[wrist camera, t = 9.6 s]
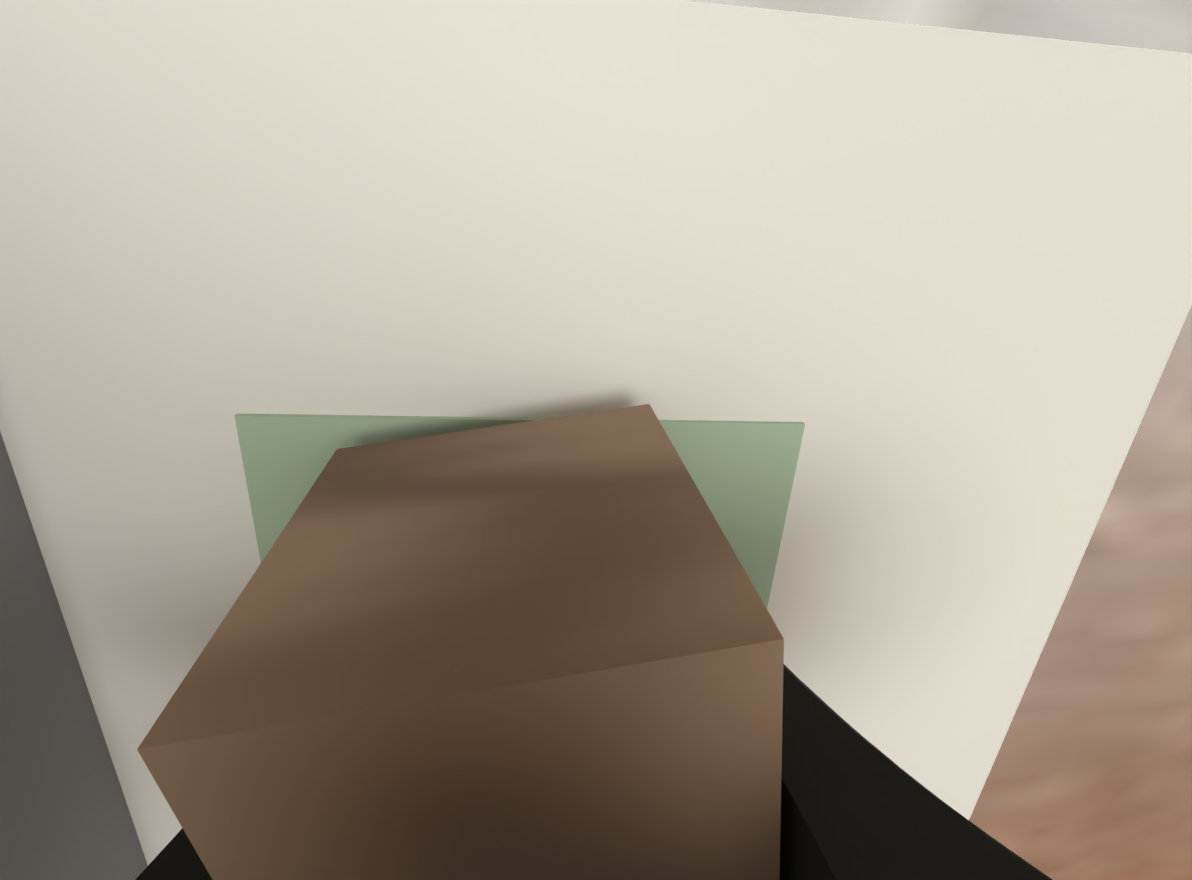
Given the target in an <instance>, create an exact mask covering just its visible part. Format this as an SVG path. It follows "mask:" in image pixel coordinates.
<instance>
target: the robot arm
mask: <svg viewBox="0 0 1192 880" xmlns="http://www.w3.org/2000/svg"><path fill="white" fill-rule="evenodd" d="M135 880H212V878H211V876H210V875H209V873H208V871H207V869H206V868H205V866H204V864H203V862H202V861H201V859H200V857H199V856H198V854H197V852H196V850H195V849H194V847H193V845H192V844H191V842H190V840H189V838H188V837H187V835H186V833H185V831H184V830H183V828H182V829H181V830H180V831H179V832H178V833H177V834H176V836H175V837H174V838H173V839H172V840H171V841H170V842H169V843H168V844H167V845H166V847H165V848H164V849H163V850H162V851H161V852H160V853H159V854H158V855H157V856H156V858H155V859H154V860H153V861H152V862H151V863H150V864H149V865H148V866H147V867H146V869H145V870H144V871H143V872H142V873H141V874H140V875H139V876H138V877H137V878H136V879H135ZM780 880H1052V879H1051V878H1049V877H1048V876H1046V875H1045V874H1043V873H1042V872H1041V871H1039V870H1038V869H1036V868H1035V867H1033V866H1032V865H1031V864H1029V863H1028V862H1026V861H1025V860H1024V859H1022V858H1021V857H1019V856H1018V855H1016V854H1015V853H1014V852H1012V851H1011V850H1009V849H1008V848H1006V847H1005V846H1004V845H1002V844H1001V843H999V842H998V841H996V840H995V839H994V838H992V837H991V836H989V835H988V834H987V833H985V832H984V831H982V830H981V829H980V828H978V827H977V826H976V825H974V824H973V823H972V822H970V821H969V820H968V819H966V818H965V817H964V816H962V815H961V814H960V813H958V812H957V811H955V810H954V809H953V808H951V807H950V806H949V805H947V804H946V803H945V802H943V801H942V800H941V799H939V798H938V797H937V796H936V795H934V794H933V793H932V792H930V791H929V790H928V789H927V788H925V787H924V786H923V785H921V784H920V783H919V782H918V781H916V780H915V779H914V778H913V777H911V776H910V775H909V774H908V773H906V772H905V771H904V770H903V769H901V768H900V767H899V766H898V765H897V764H895V763H894V762H893V761H892V760H891V759H889V758H888V757H887V756H886V755H885V754H883V753H882V752H881V751H880V750H879V749H877V748H876V747H875V746H874V745H873V744H871V743H870V742H869V741H868V740H867V739H865V738H864V737H863V736H862V735H861V734H860V733H858V732H857V731H856V730H855V729H854V728H853V727H852V726H850V725H849V724H848V723H847V722H846V721H845V720H844V719H842V718H841V717H840V716H839V715H838V714H837V713H836V712H835V711H834V710H832V709H831V708H830V707H829V706H828V705H827V704H826V703H825V702H824V701H823V700H822V699H821V698H819V697H818V696H817V695H816V694H815V693H814V692H813V691H812V690H811V689H810V688H809V687H808V686H806V685H805V684H804V683H803V682H802V681H801V680H800V679H799V678H798V677H797V676H796V675H795V674H794V673H793V672H792V671H791V670H790V669H789V668H788V667H787V666H786V665H784V664H783V718H782V772H781V827H780Z"/></svg>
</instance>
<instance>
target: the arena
mask: <svg viewBox="0 0 1192 880" xmlns="http://www.w3.org/2000/svg"><path fill="white" fill-rule="evenodd" d="M1191 305H1192V54H1191V53H1181V52H1172V51H1162V50H1153V49H1143V48H1134V47H1124V46H1115V45H1106V44H1096V43H1087V42H1077V41H1068V40H1058V39H1049V38H1039V37H1030V36H1020V35H1011V34H1001V33H992V32H982V31H973V30H963V29H954V28H944V27H935V26H925V25H916V24H906V23H897V22H887V21H878V20H868V19H859V18H849V17H840V16H830V15H821V14H811V13H802V12H792V11H783V10H773V9H764V8H754V7H745V6H735V5H726V4H717V3H707V2H698V1H688V0H0V880H135V879H136V878H137V877H138V876H139V875H140V874H141V873H142V872H143V871H144V870H145V869H146V867H147V866H148V865H149V864H150V863H151V862H152V861H153V860H154V859H155V858H156V856H157V855H158V854H159V853H160V852H161V851H162V850H163V849H164V848H165V847H166V845H167V844H168V843H169V842H170V841H171V840H172V839H173V838H174V837H175V836H176V834H177V833H178V832H179V831H180V830H181V829H182V826H181V825H180V823H179V821H178V819H177V818H176V816H175V814H174V813H173V811H172V809H171V807H170V806H169V804H168V802H167V800H166V799H165V797H164V795H163V794H162V792H161V790H160V788H159V787H158V785H157V783H156V781H155V780H154V778H153V776H152V775H151V773H150V771H149V769H148V768H147V766H146V764H145V763H144V761H143V759H142V757H141V756H140V754H139V752H138V750H137V749H138V747H139V746H140V744H141V743H142V741H143V740H144V738H145V737H146V735H147V734H148V732H149V731H150V729H151V728H152V726H153V725H154V723H155V722H156V720H157V719H158V717H159V716H160V714H161V713H162V711H163V710H164V708H165V707H166V705H167V704H168V702H169V701H170V699H171V698H172V696H173V695H174V693H175V692H176V690H177V689H178V687H179V686H180V684H181V683H182V681H183V679H184V678H185V676H186V675H187V673H188V672H189V670H190V669H191V667H192V666H193V664H194V663H195V661H196V660H197V658H198V657H199V655H200V654H201V652H202V651H203V649H204V648H205V646H206V645H207V643H208V642H209V640H210V639H211V637H212V636H213V634H214V633H215V631H216V630H217V628H218V627H219V625H220V624H221V622H222V621H223V619H224V618H225V616H226V615H227V613H228V612H229V610H230V609H231V607H232V606H233V604H234V603H235V601H236V600H237V598H238V597H239V595H240V594H241V592H242V591H243V589H244V588H245V586H246V585H247V583H248V582H249V580H250V579H251V577H252V576H253V574H254V573H255V571H256V570H257V568H258V567H259V565H260V564H261V562H262V561H263V559H264V558H265V556H266V555H267V553H268V552H269V550H270V549H271V547H272V546H273V544H274V543H275V541H276V540H277V538H278V537H279V535H280V534H281V532H282V531H283V529H284V528H285V526H286V525H287V523H288V522H289V520H290V519H291V517H292V516H293V514H294V513H295V511H296V510H297V508H298V507H299V505H300V504H301V502H302V501H303V499H304V498H305V496H306V495H307V493H308V492H309V490H310V489H311V487H312V486H313V484H314V483H315V481H316V480H317V478H318V477H319V475H320V474H321V472H322V471H323V469H324V468H325V466H326V465H327V463H328V462H329V460H330V459H331V457H332V456H333V454H334V453H335V451H336V450H337V449H340V448H347V447H354V446H361V445H368V444H375V443H382V442H389V441H396V440H402V439H409V438H416V437H423V436H430V435H437V434H444V433H451V432H458V431H465V430H472V429H479V428H485V427H492V426H499V425H506V424H513V423H520V422H527V421H534V420H541V419H548V418H555V417H562V416H568V415H575V414H582V413H589V412H596V411H603V410H610V409H617V408H624V407H631V406H638V405H645V404H650V406H651V408H652V409H653V411H654V413H655V415H656V416H657V418H658V420H659V422H660V423H661V425H662V427H663V429H664V430H665V432H666V434H667V436H668V437H669V439H670V441H671V443H672V444H673V446H674V448H675V450H676V451H677V453H678V455H679V457H680V458H681V460H682V462H683V464H684V465H685V467H686V469H687V471H688V472H689V474H690V476H691V478H692V479H693V481H694V483H695V485H696V486H697V488H698V490H699V492H700V493H701V495H702V497H703V498H704V500H705V502H706V504H707V505H708V507H709V509H710V511H711V512H712V514H713V516H714V518H715V519H716V521H717V523H718V525H719V526H720V528H721V530H722V532H723V533H724V535H725V537H726V539H727V540H728V542H729V544H730V546H731V547H732V549H733V551H734V553H735V554H736V556H737V558H738V560H739V561H740V563H741V565H742V567H743V568H744V570H745V572H746V574H747V575H748V577H749V579H750V581H751V582H752V584H753V586H754V588H755V589H756V591H757V593H758V595H759V596H760V598H761V600H762V602H763V603H764V605H765V607H766V609H767V610H768V612H769V614H770V615H771V617H772V619H773V621H774V622H775V624H776V626H777V628H778V629H779V631H780V633H781V635H782V636H783V638H784V663H783V664H784V665H786V666H787V667H788V668H789V669H790V670H791V671H792V672H793V673H794V674H795V675H796V676H797V677H798V678H799V679H800V680H801V681H802V682H803V683H804V684H805V685H806V686H808V687H809V688H810V689H811V690H812V691H813V692H814V693H815V694H816V695H817V696H818V697H819V698H821V699H822V700H823V701H824V702H825V703H826V704H827V705H828V706H829V707H830V708H831V709H832V710H834V711H835V712H836V713H837V714H838V715H839V716H840V717H841V718H842V719H844V720H845V721H846V722H847V723H848V724H849V725H850V726H852V727H853V728H854V729H855V730H856V731H857V732H858V733H860V734H861V735H862V736H863V737H864V738H865V739H867V740H868V741H869V742H870V743H871V744H873V745H874V746H875V747H876V748H877V749H879V750H880V751H881V752H882V753H883V754H885V755H886V756H887V757H888V758H889V759H891V760H892V761H893V762H894V763H895V764H897V765H898V766H899V767H900V768H901V769H903V770H904V771H905V772H906V773H908V774H909V775H910V776H911V777H913V778H914V779H915V780H916V781H918V782H919V783H920V784H921V785H923V786H924V787H925V788H927V789H928V790H929V791H930V792H932V793H933V794H934V795H936V796H937V797H938V798H939V799H941V800H942V801H943V802H945V803H946V804H947V805H949V806H950V807H951V808H953V809H954V810H955V811H957V812H958V813H960V814H961V815H962V816H964V817H965V818H966V819H968V820H969V819H970V816H971V814H972V812H973V809H974V807H975V805H976V802H977V800H978V798H979V795H980V793H981V791H982V788H983V786H984V784H985V782H986V779H987V777H988V775H989V772H990V770H991V768H992V765H993V763H994V761H995V758H996V756H997V754H998V751H999V749H1000V747H1001V745H1002V742H1003V740H1004V738H1005V735H1006V733H1007V731H1008V728H1009V726H1010V724H1011V721H1012V719H1013V717H1014V714H1015V712H1016V710H1017V708H1018V705H1019V703H1020V701H1021V698H1022V696H1023V694H1024V691H1025V689H1026V687H1027V684H1028V682H1029V680H1030V677H1031V675H1032V673H1033V670H1034V668H1035V666H1036V664H1037V661H1038V659H1039V657H1040V654H1041V652H1042V650H1043V647H1044V645H1045V643H1046V640H1047V638H1048V636H1049V633H1050V631H1051V629H1052V627H1053V624H1054V622H1055V620H1056V617H1057V615H1058V613H1059V610H1060V608H1061V606H1062V603H1063V601H1064V599H1065V596H1066V594H1067V592H1068V590H1069V587H1070V585H1071V583H1072V580H1073V578H1074V576H1075V573H1076V571H1077V569H1078V566H1079V564H1080V562H1081V559H1082V557H1083V555H1084V553H1085V550H1086V548H1087V546H1088V543H1089V541H1090V539H1091V536H1092V534H1093V532H1094V529H1095V527H1096V525H1097V522H1098V520H1099V518H1100V516H1101V513H1102V511H1103V509H1104V506H1105V504H1106V502H1107V499H1108V497H1109V495H1110V492H1111V490H1112V488H1113V485H1114V483H1115V481H1116V479H1117V476H1118V474H1119V472H1120V469H1121V467H1122V465H1123V462H1124V460H1125V458H1126V455H1127V453H1128V451H1129V448H1130V446H1131V444H1132V442H1133V439H1134V437H1135V435H1136V432H1137V430H1138V428H1139V425H1140V423H1141V421H1142V418H1143V416H1144V414H1145V411H1146V409H1147V407H1148V405H1149V402H1150V400H1151V398H1152V395H1153V393H1154V391H1155V388H1156V386H1157V384H1158V381H1159V379H1160V377H1161V374H1162V372H1163V370H1164V368H1165V365H1166V363H1167V361H1168V358H1169V356H1170V354H1171V351H1172V349H1173V347H1174V344H1175V342H1176V340H1177V337H1178V335H1179V333H1180V331H1181V328H1182V326H1183V324H1184V321H1185V319H1186V317H1187V314H1188V312H1189V310H1190V307H1191Z"/></svg>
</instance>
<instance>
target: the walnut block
mask: <svg viewBox="0 0 1192 880" xmlns="http://www.w3.org/2000/svg"><path fill="white" fill-rule="evenodd" d="M783 663H784V638H783V636H782V635H781V633H780V631H779V629H778V628H777V626H776V624H775V622H774V621H773V619H772V617H771V615H770V614H769V612H768V610H767V609H766V607H765V605H764V603H763V602H762V600H761V598H760V596H759V595H758V593H757V591H756V589H755V588H754V586H753V584H752V582H751V581H750V579H749V577H748V575H747V574H746V572H745V570H744V568H743V567H742V565H741V563H740V561H739V560H738V558H737V556H736V554H735V553H734V551H733V549H732V547H731V546H730V544H729V542H728V540H727V539H726V537H725V535H724V533H723V532H722V530H721V528H720V526H719V525H718V523H717V521H716V519H715V518H714V516H713V514H712V512H711V511H710V509H709V507H708V505H707V504H706V502H705V500H704V498H703V497H702V495H701V493H700V492H699V490H698V488H697V486H696V485H695V483H694V481H693V479H692V478H691V476H690V474H689V472H688V471H687V469H686V467H685V465H684V464H683V462H682V460H681V458H680V457H679V455H678V453H677V451H676V450H675V448H674V446H673V444H672V443H671V441H670V439H669V437H668V436H667V434H666V432H665V430H664V429H663V427H662V425H661V423H660V422H659V420H658V418H657V416H656V415H655V413H654V411H653V409H652V408H651V406H650V404H645V405H638V406H631V407H624V408H617V409H610V410H603V411H596V412H589V413H582V414H575V415H568V416H562V417H555V418H548V419H541V420H534V421H527V422H520V423H513V424H506V425H499V426H492V427H485V428H479V429H472V430H465V431H458V432H451V433H444V434H437V435H430V436H423V437H416V438H409V439H402V440H396V441H389V442H382V443H375V444H368V445H361V446H354V447H347V448H340V449H337V450H336V451H335V453H334V454H333V456H332V457H331V459H330V460H329V462H328V463H327V465H326V466H325V468H324V469H323V471H322V472H321V474H320V475H319V477H318V478H317V480H316V481H315V483H314V484H313V486H312V487H311V489H310V490H309V492H308V493H307V495H306V496H305V498H304V499H303V501H302V502H301V504H300V505H299V507H298V508H297V510H296V511H295V513H294V514H293V516H292V517H291V519H290V520H289V522H288V523H287V525H286V526H285V528H284V529H283V531H282V532H281V534H280V535H279V537H278V538H277V540H276V541H275V543H274V544H273V546H272V547H271V549H270V550H269V552H268V553H267V555H266V556H265V558H264V559H263V561H262V562H261V564H260V565H259V567H258V568H257V570H256V571H255V573H254V574H253V576H252V577H251V579H250V580H249V582H248V583H247V585H246V586H245V588H244V589H243V591H242V592H241V594H240V595H239V597H238V598H237V600H236V601H235V603H234V604H233V606H232V607H231V609H230V610H229V612H228V613H227V615H226V616H225V618H224V619H223V621H222V622H221V624H220V625H219V627H218V628H217V630H216V631H215V633H214V634H213V636H212V637H211V639H210V640H209V642H208V643H207V645H206V646H205V648H204V649H203V651H202V652H201V654H200V655H199V657H198V658H197V660H196V661H195V663H194V664H193V666H192V667H191V669H190V670H189V672H188V673H187V675H186V676H185V678H184V679H183V681H182V683H181V684H180V686H179V687H178V689H177V690H176V692H175V693H174V695H173V696H172V698H171V699H170V701H169V702H168V704H167V705H166V707H165V708H164V710H163V711H162V713H161V714H160V716H159V717H158V719H157V720H156V722H155V723H154V725H153V726H152V728H151V729H150V731H149V732H148V734H147V735H146V737H145V738H144V740H143V741H142V743H141V744H140V746H139V747H138V749H137V750H138V752H139V754H140V756H141V757H142V759H143V761H144V763H145V764H146V766H147V768H148V769H149V771H150V773H151V775H152V776H153V778H154V780H155V781H156V783H157V785H158V787H159V788H160V790H161V792H162V794H163V795H164V797H165V799H166V800H167V802H168V804H169V806H170V807H171V809H172V811H173V813H174V814H175V816H176V818H177V819H178V821H179V823H180V825H181V826H182V828H183V830H184V831H185V833H186V835H187V837H188V838H189V840H190V842H191V844H192V845H193V847H194V849H195V850H196V852H197V854H198V856H199V857H200V859H201V861H202V862H203V864H204V866H205V868H206V869H207V871H208V873H209V875H210V876H211V878H212V880H780V827H781V772H782V718H783Z"/></svg>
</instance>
